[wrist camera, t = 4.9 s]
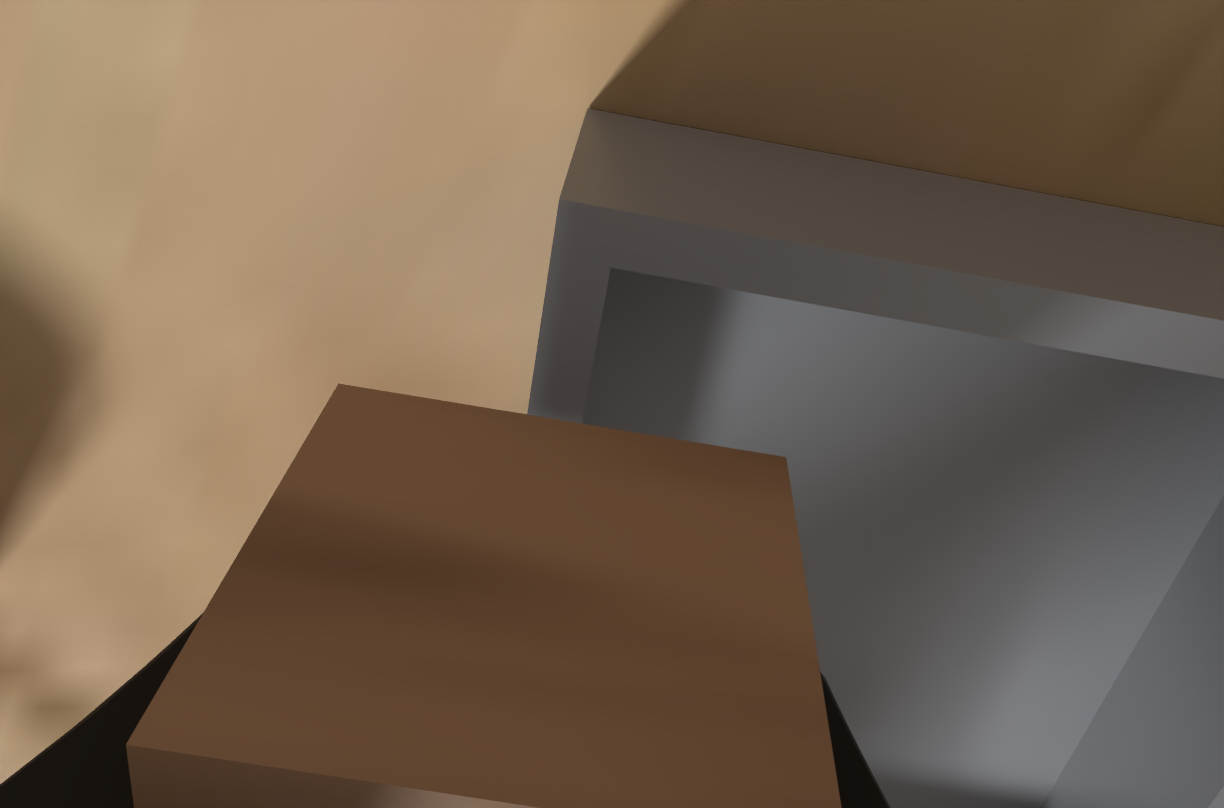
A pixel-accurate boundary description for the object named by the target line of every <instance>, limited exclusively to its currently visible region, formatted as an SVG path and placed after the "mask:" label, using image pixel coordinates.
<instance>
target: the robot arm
mask: <svg viewBox="0 0 1224 808" xmlns="http://www.w3.org/2000/svg"><path fill="white" fill-rule="evenodd" d="M202 615H203V614H202ZM202 615H200V616H199V617H198V618H197V619H196V620H195V621H194V622H193V623H192V624H191V625H190V626H189V627H188V628H187V629H185V630H184V631H183V632H182V633H181V634H180V635H179V636H178V637H177V638H176V639H175V640H174V641H172V642H171V643H170V644H169V645H168V646H167V647H166V648H165V649H164V650H162V651H161V652H160V653H159V654H158V655H157V656H156V657H155V658H154V659H153V660H151V661H150V662H149V663H148V664H147V665H146V666H145V667H144V668H142V669H141V670H140V671H139V672H138V673H137V674H135V675H134V676H133V677H132V678H131V679H130V680H128V681H127V682H126V683H125V684H124V685H123V686H121V687H120V688H119V689H118V690H117V691H116V692H114V693H113V694H112V695H111V696H110V697H109V698H108V699H106V700H105V701H104V702H103V703H102V704H101V705H99V706H98V707H97V708H96V709H95V710H94V711H92V712H91V713H90V714H89V715H88V716H86V717H85V718H84V719H83V720H82V721H80V722H79V723H78V724H77V725H76V726H74V727H73V728H72V729H71V730H69V731H68V732H67V733H65V734H64V735H63V736H62V737H60V738H59V739H58V740H57V741H55V742H54V743H53V744H51V745H50V746H49V747H48V748H46V749H45V750H44V751H43V752H41V753H40V754H39V755H37V756H36V757H35V758H34V759H32V760H31V761H30V762H28V763H27V764H26V765H25V766H23V767H22V768H21V769H20V770H18V771H17V772H16V773H14V774H13V775H12V776H11V777H9V778H8V779H7V780H5V781H4V782H3V783H2V784H0V808H134V804H133V796H132V788H131V780H130V773H129V765H128V757H127V749H126V744H127V742H128V740H129V738H130V737H131V735H132V733H133V732H134V730H135V728H136V727H137V725H138V723H139V721H140V720H141V718H142V716H143V715H144V713H145V711H146V710H147V708H148V706H149V705H150V703H151V701H152V699H153V698H154V696H155V694H156V693H157V691H158V689H159V688H160V686H161V684H162V682H163V681H164V679H165V677H166V676H167V674H168V672H169V671H170V669H171V667H172V665H173V664H174V662H175V660H176V659H177V657H178V655H179V654H180V652H181V650H182V648H183V647H184V645H185V643H186V642H187V640H188V638H189V637H190V635H191V633H192V632H193V630H194V628H195V626H196V625H197V623H198V621H199V620H200V618H201V616H202ZM820 674H821V681H822V687H823V693H824V700H825V706H826V712H827V719H828V725H829V731H830V738H831V744H832V750H833V757H834V763H835V769H836V776H837V782H838V788H839V795H840V801H841V807H842V808H890V806H889V804H888V802H887V800H886V798H885V796H884V795H883V793H882V791H881V789H880V787H879V785H878V783H877V782H876V780H875V778H874V776H873V774H872V772H871V770H870V768H869V766H868V764H867V762H866V760H865V758H864V756H863V755H862V753H861V751H860V749H859V747H858V745H857V743H856V741H855V739H854V737H853V735H852V733H851V731H850V729H849V727H848V725H847V723H846V721H845V718H844V716H843V714H842V712H841V710H840V708H839V706H838V704H837V702H836V700H835V698H834V696H833V693H832V691H831V689H830V687H829V685H828V683H827V681H826V679H825V677H824V676H823V674H822V673H821V672H820Z"/></svg>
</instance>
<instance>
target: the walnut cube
mask: <svg viewBox="0 0 1224 808" xmlns="http://www.w3.org/2000/svg"><path fill="white" fill-rule="evenodd" d="M126 749H127V757H128V765H129V773H130V780H131V788H132V796H133V804H134V808H842V807H841V801H840V795H839V788H838V782H837V776H836V769H835V763H834V757H833V750H832V744H831V738H830V731H829V725H828V719H827V712H826V706H825V700H824V693H823V687H822V681H821V674H820V668H819V662H818V655H817V649H816V643H815V636H814V630H813V624H812V617H811V611H810V605H809V598H808V592H807V586H806V579H805V573H804V567H803V560H802V554H801V548H800V541H799V535H798V529H797V522H796V516H795V510H794V503H793V497H792V491H791V484H790V478H789V472H788V465H787V459H786V457H783V456H777V455H771V454H765V453H759V452H753V451H746V450H740V449H734V448H728V447H722V446H716V445H710V444H704V443H698V442H691V441H685V440H679V439H673V438H667V437H661V436H655V435H649V434H643V433H636V432H630V431H624V430H618V429H612V428H606V427H600V426H594V425H587V424H581V423H575V422H569V421H563V420H557V419H551V418H545V417H539V416H532V415H526V414H520V413H514V412H508V411H502V410H496V409H490V408H484V407H477V406H471V405H465V404H459V403H453V402H447V401H441V400H435V399H429V398H422V397H416V396H410V395H404V394H398V393H392V392H386V391H380V390H374V389H367V388H361V387H355V386H349V385H343V384H338V385H337V387H336V389H335V390H334V392H333V394H332V396H331V397H330V399H329V401H328V402H327V404H326V406H325V407H324V409H323V411H322V413H321V414H320V416H319V418H318V419H317V421H316V423H315V424H314V426H313V428H312V430H311V431H310V433H309V435H308V436H307V438H306V440H305V441H304V443H303V445H302V447H301V448H300V450H299V452H298V453H297V455H296V457H295V458H294V460H293V462H292V463H291V465H290V467H289V469H288V470H287V472H286V474H285V475H284V477H283V479H282V480H281V482H280V484H279V486H278V487H277V489H276V491H275V492H274V494H273V496H272V497H271V499H270V501H269V503H268V504H267V506H266V508H265V509H264V511H263V513H262V514H261V516H260V518H259V519H258V521H257V523H256V525H255V526H254V528H253V530H252V531H251V533H250V535H249V536H248V538H247V540H246V542H245V543H244V545H243V547H242V548H241V550H240V552H239V553H238V555H237V557H236V559H235V560H234V562H233V564H232V565H231V567H230V569H229V570H228V572H227V574H226V576H225V577H224V579H223V581H222V582H221V584H220V586H219V587H218V589H217V591H216V592H215V594H214V596H213V598H212V599H211V601H210V603H209V604H208V606H207V608H206V609H205V611H204V613H203V615H202V616H201V618H200V620H199V621H198V623H197V625H196V626H195V628H194V630H193V632H192V633H191V635H190V637H189V638H188V640H187V642H186V643H185V645H184V647H183V648H182V650H181V652H180V654H179V655H178V657H177V659H176V660H175V662H174V664H173V665H172V667H171V669H170V671H169V672H168V674H167V676H166V677H165V679H164V681H163V682H162V684H161V686H160V688H159V689H158V691H157V693H156V694H155V696H154V698H153V699H152V701H151V703H150V705H149V706H148V708H147V710H146V711H145V713H144V715H143V716H142V718H141V720H140V721H139V723H138V725H137V727H136V728H135V730H134V732H133V733H132V735H131V737H130V738H129V740H128V742H127V744H126Z"/></svg>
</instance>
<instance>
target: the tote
mask: <svg viewBox="0 0 1224 808" xmlns="http://www.w3.org/2000/svg"><path fill="white" fill-rule="evenodd" d="M527 415H532V416H539V417H545V418H551V419H557V420H563V421H569V422H575V423H581V424H587V425H594V426H600V427H606V428H612V429H618V430H624V431H630V432H636V433H643V434H649V435H655V436H661V437H667V438H673V439H679V440H685V441H691V442H698V443H704V444H710V445H716V446H722V447H728V448H734V449H740V450H746V451H753V452H759V453H765V454H771V455H777V456H783V457H786V459H787V465H788V472H789V478H790V484H791V491H792V497H793V503H794V510H795V516H796V522H797V529H798V535H799V541H800V548H801V554H802V560H803V567H804V573H805V579H806V586H807V592H808V598H809V605H810V611H811V617H812V624H813V630H814V636H815V643H816V649H817V655H818V662H819V668H820V672H821V673H822V674H823V676H824V677H825V679H826V681H827V683H828V685H829V687H830V689H831V691H832V693H833V696H834V698H835V700H836V702H837V704H838V706H839V708H840V710H841V712H842V714H843V716H844V718H845V721H846V723H847V725H848V727H849V729H850V731H851V733H852V735H853V737H854V739H855V741H856V743H857V745H858V747H859V749H860V751H861V753H862V755H863V756H864V758H865V760H866V762H867V764H868V766H869V768H870V770H871V772H872V774H873V776H874V778H875V780H876V782H877V783H878V785H879V787H880V789H881V791H882V793H883V795H884V796H885V798H886V800H887V802H888V804H889V806H890V808H1224V227H1221V226H1216V225H1211V224H1205V223H1200V222H1195V221H1189V220H1184V219H1178V218H1173V217H1168V216H1162V215H1157V214H1152V213H1146V212H1141V211H1136V210H1130V209H1125V208H1119V207H1114V206H1109V205H1103V204H1098V203H1093V202H1087V201H1082V200H1077V199H1071V198H1066V197H1060V196H1055V195H1050V194H1044V193H1039V192H1034V191H1028V190H1023V189H1018V188H1012V187H1007V186H1001V185H996V184H991V183H985V182H980V181H975V180H969V179H964V178H958V177H953V176H948V175H942V174H937V173H932V172H926V171H921V170H916V169H910V168H905V167H899V166H894V165H889V164H883V163H878V162H873V161H867V160H862V159H857V158H851V157H846V156H840V155H835V154H830V153H824V152H819V151H814V150H808V149H803V148H798V147H792V146H787V145H781V144H776V143H771V142H765V141H760V140H755V139H749V138H744V137H739V136H733V135H728V134H722V133H717V132H712V131H706V130H701V129H696V128H690V127H685V126H679V125H674V124H669V123H663V122H658V121H653V120H647V119H642V118H637V117H631V116H626V115H620V114H615V113H610V112H604V111H599V110H594V109H588V108H587V112H586V115H585V118H584V121H583V125H582V128H581V131H580V134H579V137H578V141H577V144H576V147H575V150H574V154H573V157H572V160H571V163H570V166H569V170H568V173H567V176H566V179H565V182H564V186H563V189H562V192H561V195H560V199H559V205H558V211H557V218H556V225H555V232H554V238H553V245H552V252H551V259H550V265H549V272H548V279H547V285H546V292H545V299H544V306H543V312H542V319H541V326H540V332H539V339H538V346H537V353H536V359H535V366H534V373H533V379H532V386H531V393H530V400H529V406H528V413H527Z"/></svg>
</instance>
